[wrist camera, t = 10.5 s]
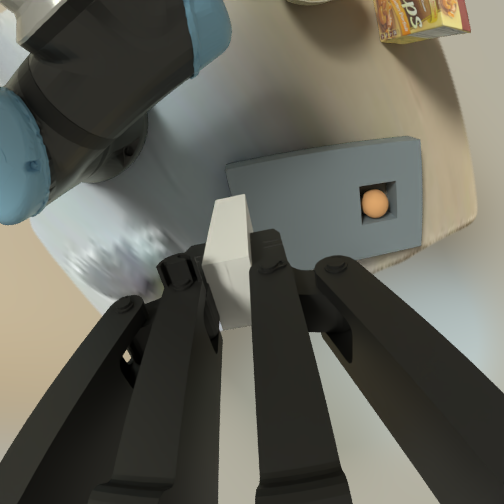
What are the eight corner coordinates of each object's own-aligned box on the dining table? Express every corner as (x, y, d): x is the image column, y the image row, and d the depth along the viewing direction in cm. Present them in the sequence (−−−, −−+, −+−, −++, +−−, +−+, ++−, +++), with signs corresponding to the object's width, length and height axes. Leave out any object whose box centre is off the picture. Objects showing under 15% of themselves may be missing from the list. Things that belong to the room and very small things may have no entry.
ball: (357, 217, 44) (373, 225, 40) (353, 191, 42) (369, 197, 39) (379, 209, 45) (395, 216, 41) (375, 183, 43) (392, 188, 39)
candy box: (369, -13, 29) (423, -49, 15) (395, -9, 29) (455, -39, 15) (379, 43, 33) (442, 26, 19) (406, 45, 33) (473, 33, 19)
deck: (250, 268, 48) (251, 281, 45) (226, 164, 41) (225, 170, 38) (411, 236, 46) (421, 245, 43) (408, 135, 39) (420, 139, 36)
